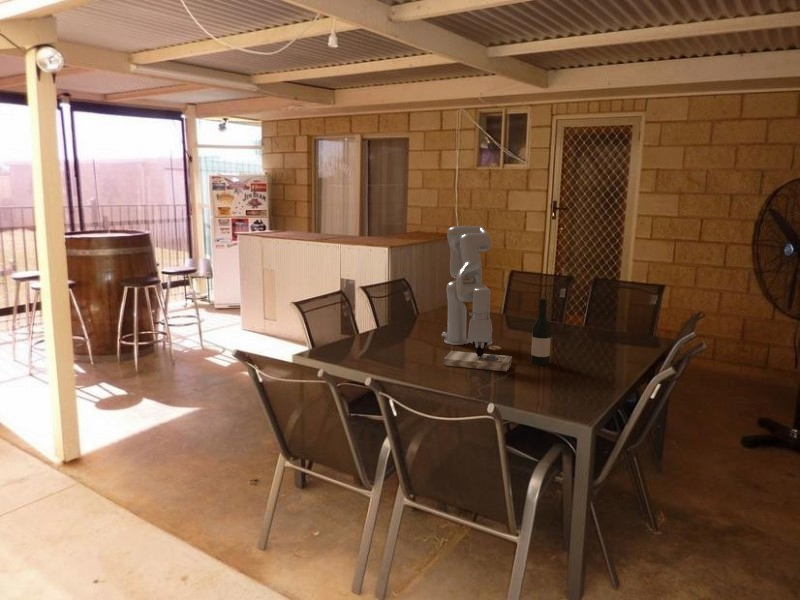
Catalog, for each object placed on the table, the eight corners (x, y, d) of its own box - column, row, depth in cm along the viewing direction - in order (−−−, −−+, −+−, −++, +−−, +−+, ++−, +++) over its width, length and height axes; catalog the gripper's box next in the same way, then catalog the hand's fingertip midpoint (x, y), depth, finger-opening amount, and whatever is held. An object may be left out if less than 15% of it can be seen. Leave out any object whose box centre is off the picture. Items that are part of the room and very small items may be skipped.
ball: (492, 352, 266) (499, 360, 266) (491, 351, 271) (498, 360, 271) (483, 359, 266) (491, 368, 266) (483, 358, 271) (490, 367, 271)
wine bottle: (536, 366, 267) (539, 299, 262) (527, 361, 275) (530, 296, 269) (553, 365, 269) (556, 298, 264) (543, 360, 277) (547, 295, 272)
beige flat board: (443, 365, 269) (443, 358, 268) (451, 357, 282) (451, 350, 281) (507, 371, 260) (507, 364, 259) (511, 362, 273) (512, 356, 272)
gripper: (462, 316, 265) (461, 356, 269) (496, 318, 261) (495, 359, 264) (466, 312, 272) (465, 352, 276) (499, 315, 268) (498, 355, 271)
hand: (479, 356), depth 270 cm, fingers closed
